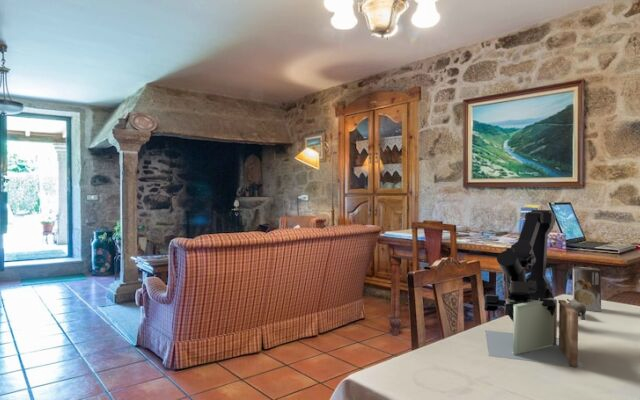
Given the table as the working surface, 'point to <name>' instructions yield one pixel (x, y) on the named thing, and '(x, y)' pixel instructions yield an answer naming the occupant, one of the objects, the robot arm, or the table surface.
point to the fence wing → (533, 326)
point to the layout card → (503, 347)
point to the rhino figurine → (578, 307)
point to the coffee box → (587, 287)
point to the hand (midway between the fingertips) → (520, 331)
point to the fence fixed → (568, 332)
